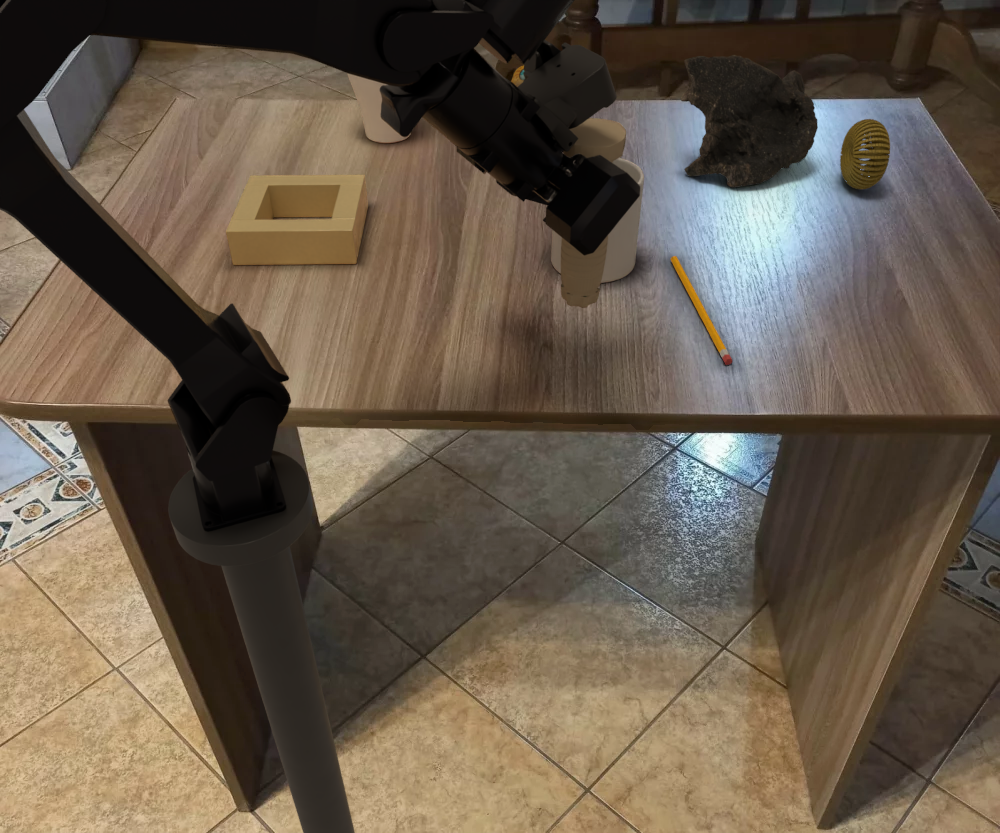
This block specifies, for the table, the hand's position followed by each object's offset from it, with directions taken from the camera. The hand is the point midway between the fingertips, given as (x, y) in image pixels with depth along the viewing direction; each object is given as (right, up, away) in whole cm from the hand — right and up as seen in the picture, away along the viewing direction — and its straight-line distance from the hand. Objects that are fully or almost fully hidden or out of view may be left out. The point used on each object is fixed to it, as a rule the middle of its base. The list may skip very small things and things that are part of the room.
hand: (598, 219), depth 75 cm
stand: (-30, +4, +25) cm, 39 cm away
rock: (+22, +15, +38) cm, 46 cm away
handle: (-1, -6, +4) cm, 8 cm away
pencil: (+11, -6, +14) cm, 19 cm away
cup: (-23, +21, +46) cm, 56 cm away
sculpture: (+35, +11, +34) cm, 50 cm away
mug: (+2, +1, +21) cm, 21 cm away
